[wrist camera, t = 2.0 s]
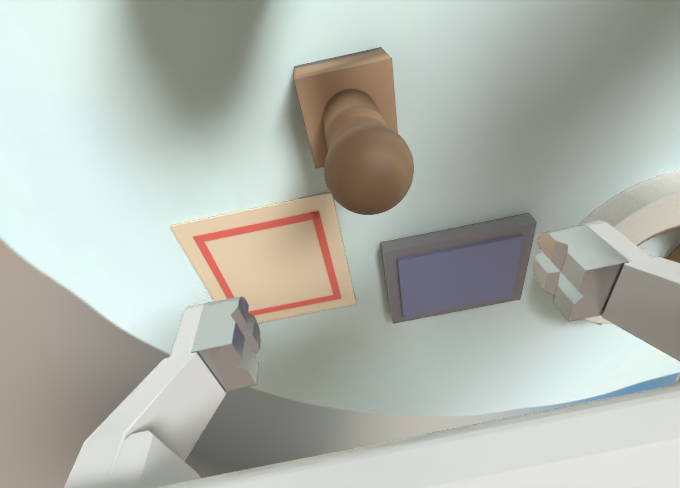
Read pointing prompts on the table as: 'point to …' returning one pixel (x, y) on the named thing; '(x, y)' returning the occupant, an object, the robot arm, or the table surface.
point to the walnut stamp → (355, 129)
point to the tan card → (273, 257)
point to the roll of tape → (642, 213)
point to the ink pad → (457, 267)
